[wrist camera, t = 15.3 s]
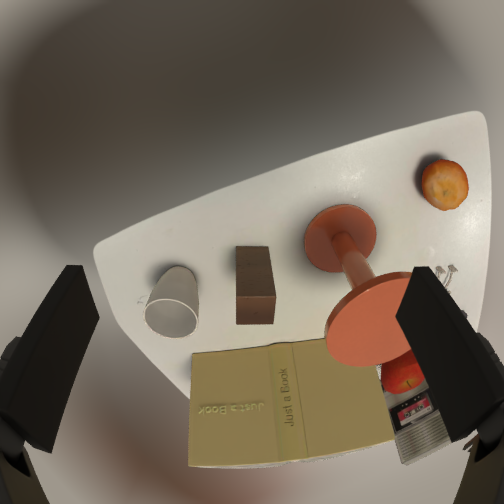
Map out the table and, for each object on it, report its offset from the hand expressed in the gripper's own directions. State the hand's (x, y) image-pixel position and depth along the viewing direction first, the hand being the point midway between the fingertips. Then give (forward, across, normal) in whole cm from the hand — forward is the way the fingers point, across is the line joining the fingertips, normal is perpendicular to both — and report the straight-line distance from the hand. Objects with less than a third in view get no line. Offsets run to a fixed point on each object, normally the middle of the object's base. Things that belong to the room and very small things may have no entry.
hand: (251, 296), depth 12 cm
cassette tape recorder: (+33, +43, -57) cm, 78 cm away
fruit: (+33, +31, -4) cm, 45 cm away
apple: (+33, +36, -45) cm, 66 cm away
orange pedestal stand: (+33, +16, -16) cm, 40 cm away
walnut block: (+33, +2, -20) cm, 38 cm away
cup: (+33, -10, -24) cm, 42 cm away
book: (+33, +9, -44) cm, 56 cm away
